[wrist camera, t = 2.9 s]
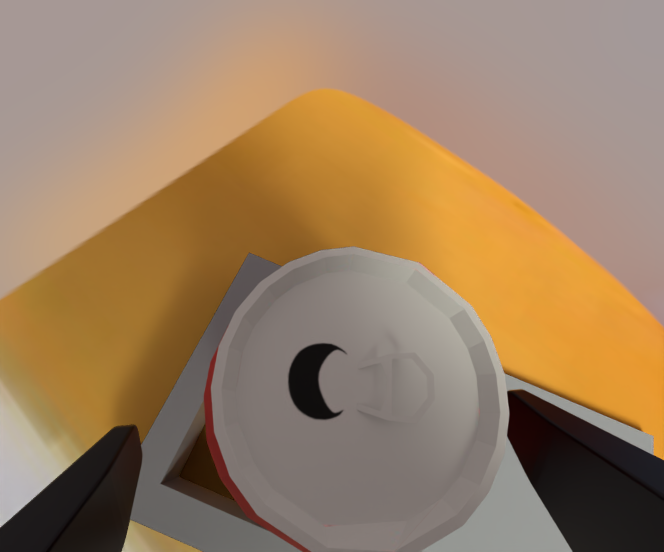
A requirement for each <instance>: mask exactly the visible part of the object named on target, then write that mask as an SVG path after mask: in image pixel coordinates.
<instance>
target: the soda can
mask: <svg viewBox="0 0 664 552" xmlns="http://www.w3.org/2000/svg"><path fill="white" fill-rule="evenodd" d="M204 409H205V424H206V438H207V444H208V447H209V450H210V453H211V455H212V458H213V461H214V464H215V467H216V470H217V472H218V475H219V478H220V479H221V481H222V482H223V484H224V485H225V486H226V488H227V489H228V491H229V492H230V494H231V495H232V496H233V498H234V499H235V501H236V502H237V503H238V505H239V506H240V508H241V509H242V510H243V512H244V513H245V515H246V516H247V517H248V518H249V519H251V520H253V521H254V522H256V523H257V524H259V525H260V526H262V527H264V528H265V529H267V530H268V531H270V532H272V533H273V534H275V535H276V536H278V537H280V538H281V539H283V540H284V541H286V542H288V543H289V544H291V545H292V546H294V547H296V548H297V549H299V550H300V551H302V552H420V551H422V550H424V549H425V548H427V547H429V546H430V545H432V544H434V543H435V542H437V541H439V540H440V539H442V538H444V537H445V536H447V535H449V534H450V533H452V532H454V531H455V530H457V529H459V528H460V527H462V526H463V525H464V524H465V523H466V522H467V520H468V519H469V518H470V516H471V515H472V514H473V512H474V511H475V510H476V509H477V507H478V506H479V505H480V503H481V502H482V501H483V499H484V498H485V497H486V496H487V494H488V493H489V491H490V489H491V486H492V484H493V481H494V479H495V476H496V474H497V471H498V469H499V466H500V464H501V461H502V459H503V456H504V454H505V446H506V438H507V430H508V422H509V406H508V397H507V389H506V381H505V374H504V371H503V368H502V365H501V363H500V360H499V357H498V354H497V352H496V349H495V346H494V343H493V341H492V338H491V336H490V334H489V333H488V331H487V329H486V328H485V326H484V325H483V323H482V322H481V320H480V318H479V317H478V315H477V314H476V312H475V310H474V309H473V307H472V306H471V305H470V304H469V303H468V302H466V301H465V300H464V299H463V298H462V297H460V296H459V295H458V294H457V293H456V292H454V291H453V290H452V289H451V288H450V287H448V286H447V285H446V284H445V283H444V282H442V281H441V280H440V279H439V278H438V277H436V276H435V275H434V274H433V273H432V272H430V271H429V270H428V269H427V268H426V267H424V266H423V265H422V264H421V263H419V262H414V261H410V260H406V259H402V258H398V257H394V256H390V255H386V254H382V253H378V252H374V251H370V250H366V249H362V248H358V247H345V248H336V249H327V250H320V251H317V252H315V253H312V254H309V255H307V256H304V257H301V258H298V259H296V260H293V261H290V262H288V263H287V264H285V265H284V266H282V267H281V268H280V269H278V270H277V271H275V272H274V273H272V274H271V275H270V276H268V277H267V278H265V279H264V280H262V281H261V282H260V283H259V284H258V285H257V286H256V287H255V289H254V290H253V291H252V292H251V293H250V294H249V296H248V297H247V298H246V299H245V300H244V301H243V303H242V304H241V305H240V306H239V307H238V309H237V310H236V311H235V313H234V315H233V317H232V319H231V322H230V324H229V325H228V327H227V329H226V331H225V333H224V335H223V337H222V339H221V341H220V343H219V345H218V347H217V349H216V351H215V354H214V356H213V358H212V360H211V362H210V366H209V371H208V377H207V382H206V387H205V392H204Z"/></svg>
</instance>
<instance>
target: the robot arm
mask: <svg viewBox="0 0 664 552" xmlns="http://www.w3.org/2000/svg"><path fill="white" fill-rule="evenodd" d="M507 397H508V406H509V422H508V430H507V437H508V439H509V441H510V443H511V445H512V448H513V450H514V452H515V454H516V456H517V458H518V460H519V462H520V464H521V466H522V468H523V470H524V472H525V474H526V475H527V477H528V479H529V481H530V483H531V485H532V486H533V488H534V490H535V491H536V493H537V495H538V496H539V498H540V500H541V501H542V503H543V504H544V506H545V508H546V509H547V511H548V513H549V514H550V516H551V518H552V519H553V521H554V522H555V524H556V526H557V527H558V529H559V531H560V532H561V534H562V535H563V537H564V539H565V540H566V542H567V544H568V545H569V547H570V549H571V550H572V552H664V460H662V459H660V458H658V457H656V456H654V455H652V454H650V453H648V452H646V451H644V450H642V449H640V448H638V447H636V446H635V445H633V444H631V443H629V442H627V441H625V440H623V439H621V438H619V437H617V436H615V435H613V434H611V433H609V432H607V431H605V430H603V429H601V428H599V427H597V426H595V425H593V424H591V423H589V422H587V421H585V420H583V419H581V418H579V417H577V416H575V415H573V414H571V413H569V412H567V411H565V410H563V409H561V408H559V407H557V406H555V405H553V404H551V403H549V402H547V401H545V400H543V399H541V398H540V397H538V396H536V395H534V394H532V393H530V392H528V391H526V390H523V389H516V390H509V391H507ZM142 457H143V454H142V448H141V443H140V438H139V433H138V428H137V427H136V425H133V424H131V425H120V426H116V427H114V428H112V429H111V430H110V431H109V432H108V433H107V434H106V435H104V436H103V437H102V438H101V439H100V440H99V441H98V442H97V443H95V444H94V445H93V446H92V447H91V448H90V449H89V450H88V451H86V452H85V453H84V454H83V455H82V456H81V457H80V458H78V459H77V460H76V461H75V462H74V463H73V464H72V465H71V466H69V467H68V468H67V469H66V470H65V471H64V472H63V473H62V474H60V475H59V476H58V477H57V478H56V479H55V480H54V481H53V482H51V483H50V484H49V485H48V486H47V487H46V488H45V489H43V490H42V491H41V492H40V493H39V494H38V495H37V496H36V497H34V498H33V499H32V500H31V501H30V502H29V503H28V504H27V505H25V506H24V507H23V508H22V509H21V510H20V511H19V512H17V513H16V514H15V515H14V516H13V517H12V518H11V519H10V520H8V521H7V522H6V523H5V524H4V525H3V526H2V527H1V528H0V552H122V548H123V545H124V542H125V538H126V535H127V530H128V526H129V522H130V517H131V512H132V507H133V503H134V498H135V493H136V489H137V484H138V479H139V475H140V470H141V465H142Z"/></svg>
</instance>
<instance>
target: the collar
mask: <svg viewBox="0 0 664 552" xmlns="http://www.w3.org/2000/svg"><path fill="white" fill-rule="evenodd" d="M281 267H282V266H280V265H277V264H275V263H273V262H270V261H268V260H265V259H263V258H261V257H258V256H256V255H254V254H251V253H249V254H248V256H247V257H246V259H245V261H244V263H243V264H242V266H241V268H240V270H239V272H238V273H237V275H236V277H235V279H234V281H233V282H232V284H231V286H230V288H229V289H228V291H227V293H226V295H225V297H224V298H223V300H222V302H221V304H220V306H219V307H218V309H217V311H216V313H215V314H214V316H213V318H212V320H211V322H210V323H209V325H208V327H207V329H206V330H205V332H204V334H203V336H202V338H201V339H200V341H199V343H198V345H197V347H196V348H195V350H194V352H193V354H192V355H191V357H190V359H189V361H188V363H187V364H186V366H185V368H184V370H183V371H182V373H181V375H180V377H179V379H178V380H177V382H176V384H175V386H174V388H173V389H172V391H171V393H170V395H169V396H168V398H167V400H166V402H165V404H164V405H163V407H162V409H161V411H160V413H159V414H158V416H157V418H156V420H155V421H154V423H153V425H152V427H151V429H150V430H149V432H148V434H147V436H146V437H145V439H144V441H143V443H142V445H141V448H142V454H143V457H142V465H141V470H140V475H139V479H138V484H137V489H136V493H135V498H134V503H133V507H132V512H131V517H130V520H133V521H135V522H137V523H139V524H142V525H144V526H146V527H149V528H151V529H153V530H155V531H158V532H160V533H162V534H164V535H167V536H169V537H171V538H174V539H176V540H178V541H180V542H183V543H185V544H187V545H189V546H192V547H194V548H196V549H198V550H201V551H203V552H302V551H300V550H299V549H297V548H296V547H294V546H292V545H291V544H289V543H288V542H286V541H284V540H283V539H281V538H280V537H278V536H276V535H275V534H273V533H272V532H270V531H268V530H267V529H265V528H264V527H262V526H260V525H259V524H257V523H256V522H254V521H253V520H251V519H249V518H248V517H247V516H246V515H245V513H244V512H243V510H242V509H241V508H240V506H239V505H238V503H237V502H236V501H234V500H231V499H229V498H227V497H224V496H222V495H220V494H218V493H215V492H213V491H211V490H208V489H206V488H204V487H201V486H199V485H197V484H195V483H192V482H190V481H188V480H185V479H183V478H181V477H179V475H180V473H181V471H182V469H183V467H184V465H185V463H186V461H187V459H188V457H189V455H190V453H191V451H192V449H193V447H194V445H195V443H196V441H197V439H198V437H199V435H200V433H201V431H202V429H203V427H204V425H205V409H204V392H205V387H206V382H207V377H208V371H209V366H210V362H211V360H212V358H213V356H214V354H215V351H216V349H217V347H218V345H219V343H220V341H221V339H222V337H223V335H224V333H225V331H226V329H227V327H228V325H229V324H230V322H231V319H232V317H233V315H234V313H235V311H236V310H237V309H238V307H239V306H240V305H241V304H242V303H243V301H244V300H245V299H246V298H247V297H248V296H249V294H250V293H251V292H252V291H253V290H254V289H255V287H256V286H257V285H258V284H259V283H260V282H261V281H262V280H264V279H265V278H267V277H268V276H270V275H271V274H272V273H274V272H275V271H277V270H278V269H280V268H281Z"/></svg>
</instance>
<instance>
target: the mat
mask: <svg viewBox="0 0 664 552" xmlns="http://www.w3.org/2000/svg"><path fill="white" fill-rule="evenodd" d="M504 374H505V373H504ZM505 381H506V389H507V391H509V390H516V389H523V390H526V391H528V392H530V393H532V394H534V395H536V396H538V397H540V398H541V399H543V400H545V401H547V402H549V403H551V404H553V405H555V406H557V407H559V408H561V409H563V410H565V411H567V412H569V413H571V414H573V415H575V416H577V417H579V418H581V419H583V420H585V421H587V422H589V423H591V424H593V425H595V426H597V427H599V428H601V429H603V430H605V431H607V432H609V433H611V434H613V435H615V436H617V437H619V438H621V439H623V440H625V441H627V442H629V443H631V444H633V445H635V446H636V447H638V448H640V449H642V450H644V451H646V452H648V453H650V454H652V455H653V436H651V435H649V434H647V433H644V432H642V431H640V430H637V429H635V428H633V427H630V426H628V425H625V424H623V423H621V422H618V421H616V420H614V419H611V418H609V417H607V416H604V415H602V414H599V413H597V412H595V411H592V410H590V409H588V408H585V407H583V406H581V405H578V404H576V403H573V402H571V401H569V400H566V399H564V398H562V397H559V396H557V395H555V394H552V393H550V392H547V391H545V390H543V389H540V388H538V387H536V386H533V385H531V384H529V383H526V382H524V381H521V380H519V379H517V378H514V377H512V376H510V375H507V374H505ZM420 552H572V550H571V549H570V547H569V545H568V544H567V542H566V540H565V539H564V537H563V535H562V534H561V532H560V531H559V529H558V527H557V526H556V524H555V522H554V521H553V519H552V518H551V516H550V514H549V513H548V511H547V509H546V508H545V506H544V504H543V503H542V501H541V500H540V498H539V496H538V495H537V493H536V491H535V490H534V488H533V486H532V485H531V483H530V481H529V479H528V477H527V475H526V474H525V472H524V470H523V468H522V466H521V464H520V462H519V460H518V458H517V456H516V454H515V452H514V450H513V448H512V445H511V443H510V441H509V439H508V437H507V438H506V446H505V454H504V456H503V459H502V461H501V464H500V466H499V469H498V471H497V474H496V476H495V479H494V481H493V484H492V486H491V489H490V491H489V493H488V494H487V496H486V497H485V498H484V499H483V501H482V502H481V503H480V505H479V506H478V507H477V509H476V510H475V511H474V512H473V514H472V515H471V516H470V518H469V519H468V520H467V522H466V523H465V524H464V525H463V526H462V527H460V528H459V529H457V530H455V531H454V532H452V533H450V534H449V535H447V536H445V537H444V538H442V539H440V540H439V541H437V542H435V543H434V544H432V545H430V546H429V547H427V548H425V549H424V550H422V551H420Z"/></svg>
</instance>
